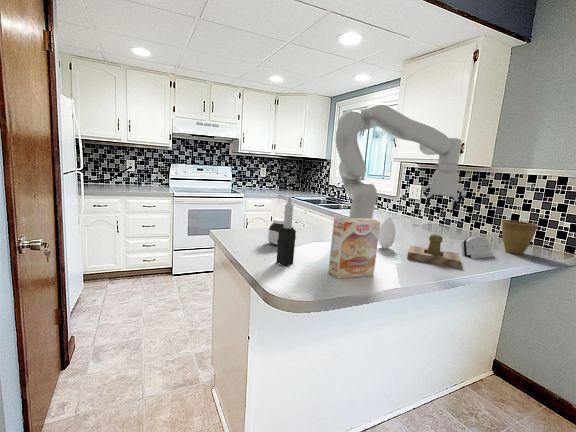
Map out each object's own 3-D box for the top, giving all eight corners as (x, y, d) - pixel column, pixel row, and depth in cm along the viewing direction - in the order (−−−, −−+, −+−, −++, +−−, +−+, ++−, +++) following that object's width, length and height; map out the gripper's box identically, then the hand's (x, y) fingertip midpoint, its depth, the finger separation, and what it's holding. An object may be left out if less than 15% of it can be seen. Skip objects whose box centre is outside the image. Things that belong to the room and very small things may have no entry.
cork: (437, 258, 141) (441, 234, 139) (442, 262, 135) (446, 237, 133) (423, 256, 141) (426, 232, 140) (427, 260, 135) (431, 235, 134)
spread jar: (266, 245, 139) (267, 219, 138) (271, 239, 150) (273, 215, 149) (292, 248, 138) (295, 222, 136) (296, 242, 149) (298, 218, 147)
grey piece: (471, 258, 145) (468, 236, 147) (462, 258, 149) (459, 237, 151) (494, 256, 152) (491, 235, 154) (485, 256, 156) (481, 236, 158)
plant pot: (538, 256, 158) (545, 225, 155) (515, 256, 154) (522, 224, 152) (511, 248, 172) (517, 219, 170) (489, 248, 168) (495, 219, 166)
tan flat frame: (407, 258, 136) (408, 251, 136) (409, 251, 149) (410, 245, 148) (459, 268, 128) (460, 261, 127) (457, 259, 140) (458, 253, 140)
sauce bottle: (375, 245, 156) (380, 209, 153) (391, 247, 155) (396, 210, 152) (377, 249, 148) (382, 211, 145) (395, 251, 147) (400, 213, 144)
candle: (284, 260, 121) (290, 195, 117) (294, 263, 117) (300, 197, 113) (275, 262, 117) (279, 195, 113) (284, 266, 114) (289, 197, 109)
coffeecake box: (338, 279, 105) (344, 221, 102) (327, 271, 111) (332, 217, 108) (374, 276, 111) (381, 221, 108) (362, 269, 117) (368, 217, 114)
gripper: (424, 166, 132) (418, 207, 135) (471, 170, 125) (463, 212, 128) (425, 167, 139) (419, 205, 142) (469, 170, 132) (462, 210, 135)
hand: (440, 208), depth 135 cm, fingers open, 9 cm apart
